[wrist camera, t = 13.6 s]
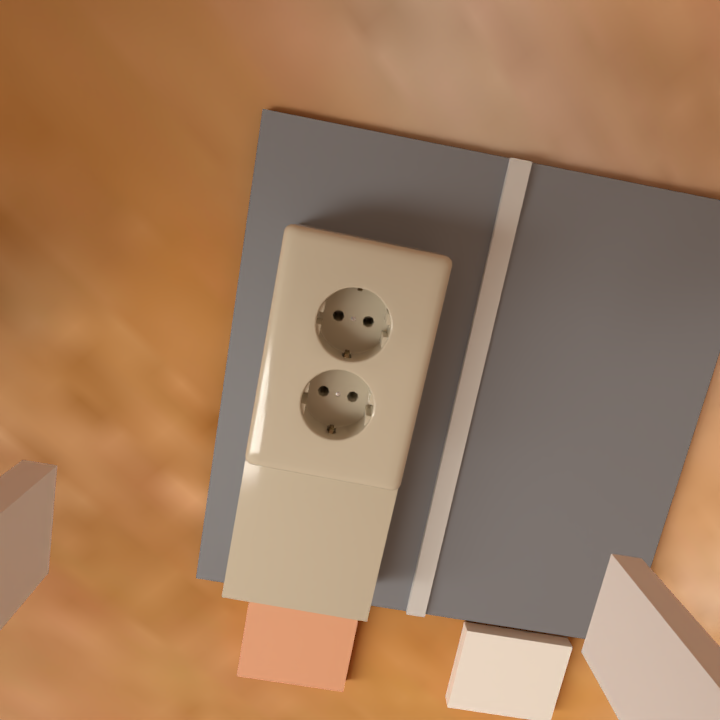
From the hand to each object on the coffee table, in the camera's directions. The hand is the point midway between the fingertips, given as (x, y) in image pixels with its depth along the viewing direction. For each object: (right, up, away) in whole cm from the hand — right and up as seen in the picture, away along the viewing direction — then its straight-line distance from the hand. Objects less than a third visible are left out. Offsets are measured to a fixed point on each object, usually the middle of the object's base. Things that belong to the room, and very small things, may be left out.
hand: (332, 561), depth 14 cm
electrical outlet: (-1, +2, +17) cm, 17 cm away
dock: (+5, 0, +17) cm, 18 cm away
